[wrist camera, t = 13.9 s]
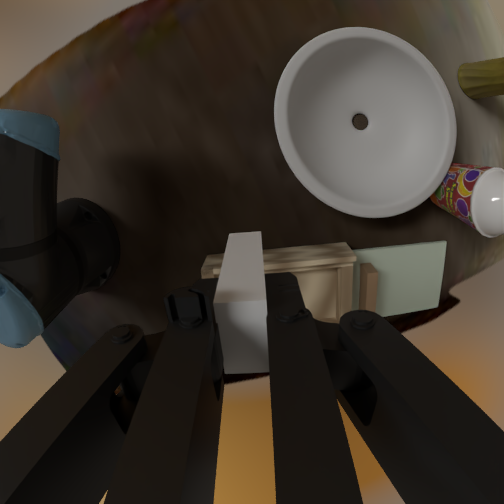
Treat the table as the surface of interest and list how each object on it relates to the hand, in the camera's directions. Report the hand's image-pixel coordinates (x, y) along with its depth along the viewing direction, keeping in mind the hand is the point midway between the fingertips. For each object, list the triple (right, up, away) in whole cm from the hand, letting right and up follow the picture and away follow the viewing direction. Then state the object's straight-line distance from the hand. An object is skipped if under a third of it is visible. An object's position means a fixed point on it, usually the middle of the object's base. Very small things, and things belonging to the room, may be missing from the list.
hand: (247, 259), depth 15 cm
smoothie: (+29, +11, +25) cm, 39 cm away
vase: (+35, +27, +18) cm, 48 cm away
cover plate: (+23, -4, +31) cm, 39 cm away
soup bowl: (+15, +18, +23) cm, 32 cm away
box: (+4, -6, +31) cm, 32 cm away
